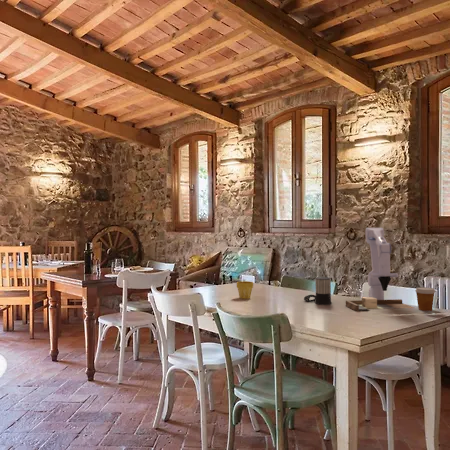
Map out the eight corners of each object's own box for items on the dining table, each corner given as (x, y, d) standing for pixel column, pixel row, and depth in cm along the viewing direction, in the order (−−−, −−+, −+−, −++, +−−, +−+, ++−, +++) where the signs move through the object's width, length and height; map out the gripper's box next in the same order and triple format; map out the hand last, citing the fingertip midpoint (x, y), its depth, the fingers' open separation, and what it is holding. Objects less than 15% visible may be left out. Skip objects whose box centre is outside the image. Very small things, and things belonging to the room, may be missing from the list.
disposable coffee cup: (423, 313, 227) (423, 290, 227) (411, 310, 237) (411, 287, 237) (439, 312, 230) (439, 289, 230) (426, 309, 239) (426, 286, 239)
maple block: (361, 305, 246) (361, 297, 246) (372, 305, 246) (372, 297, 246) (366, 307, 240) (366, 299, 240) (377, 307, 240) (376, 298, 240)
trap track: (345, 305, 251) (345, 300, 251) (401, 304, 253) (401, 299, 253) (356, 311, 235) (356, 305, 235) (414, 309, 238) (414, 304, 238)
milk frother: (331, 305, 254) (331, 278, 254) (303, 304, 257) (303, 278, 257) (331, 301, 267) (331, 276, 267) (304, 300, 271) (304, 275, 271)
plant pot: (253, 296, 285) (253, 281, 285) (253, 299, 275) (252, 283, 275) (237, 296, 286) (237, 281, 286) (236, 299, 276) (236, 283, 276)
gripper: (374, 266, 239) (374, 291, 239) (400, 266, 241) (401, 291, 241) (369, 265, 246) (369, 290, 246) (394, 264, 248) (394, 289, 248)
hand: (384, 290), depth 244 cm, fingers closed
